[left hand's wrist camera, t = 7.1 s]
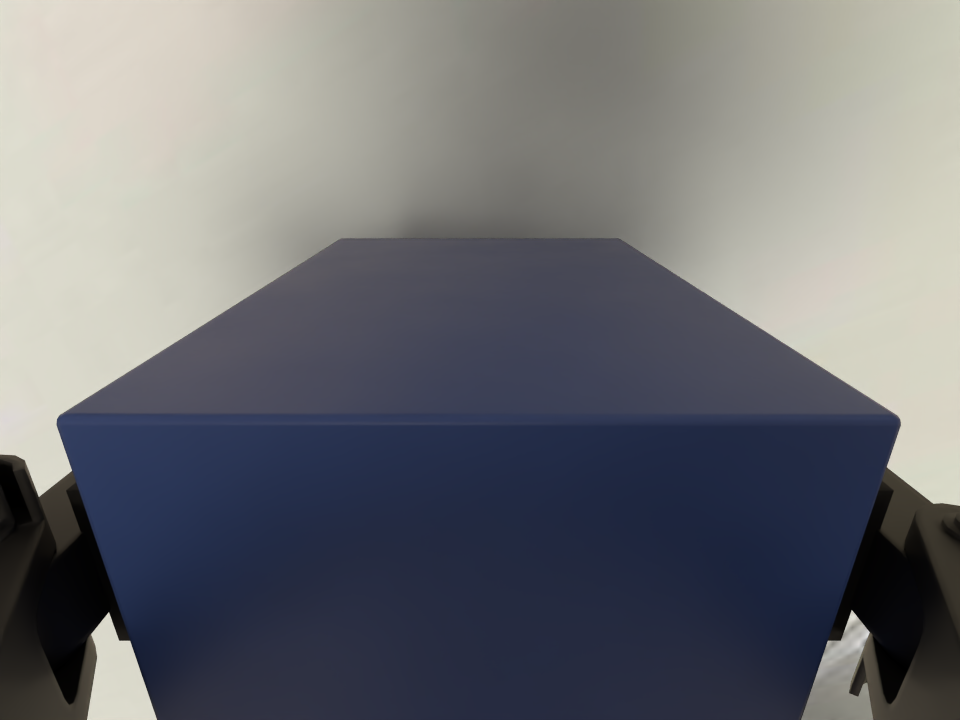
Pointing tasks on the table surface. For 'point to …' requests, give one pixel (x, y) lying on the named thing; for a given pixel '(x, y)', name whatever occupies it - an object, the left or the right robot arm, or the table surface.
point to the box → (478, 494)
